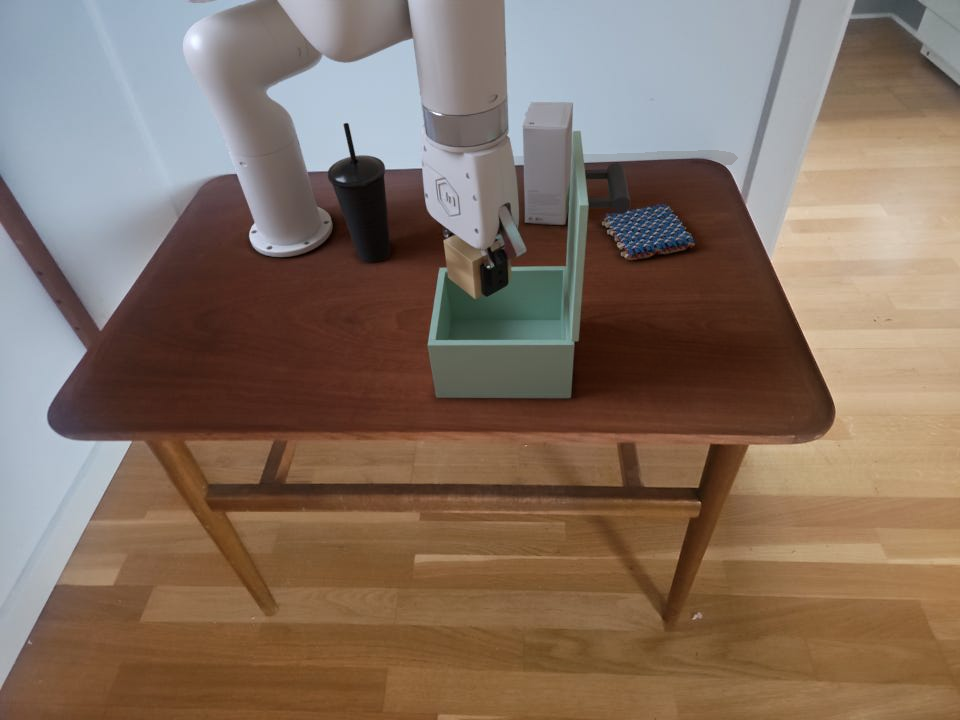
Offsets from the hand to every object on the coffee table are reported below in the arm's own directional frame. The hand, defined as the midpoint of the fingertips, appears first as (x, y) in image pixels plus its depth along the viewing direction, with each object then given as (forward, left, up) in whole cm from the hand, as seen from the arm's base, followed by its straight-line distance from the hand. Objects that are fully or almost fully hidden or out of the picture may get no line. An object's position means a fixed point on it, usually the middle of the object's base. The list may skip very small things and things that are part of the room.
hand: (478, 275), depth 70 cm
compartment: (+2, +2, -13) cm, 13 cm away
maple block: (0, 0, 0) cm, 0 cm away
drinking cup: (-28, +1, -13) cm, 30 cm away
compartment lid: (+6, +7, +5) cm, 11 cm away
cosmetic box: (-19, +27, -13) cm, 35 cm away
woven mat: (-4, +33, -13) cm, 36 cm away
